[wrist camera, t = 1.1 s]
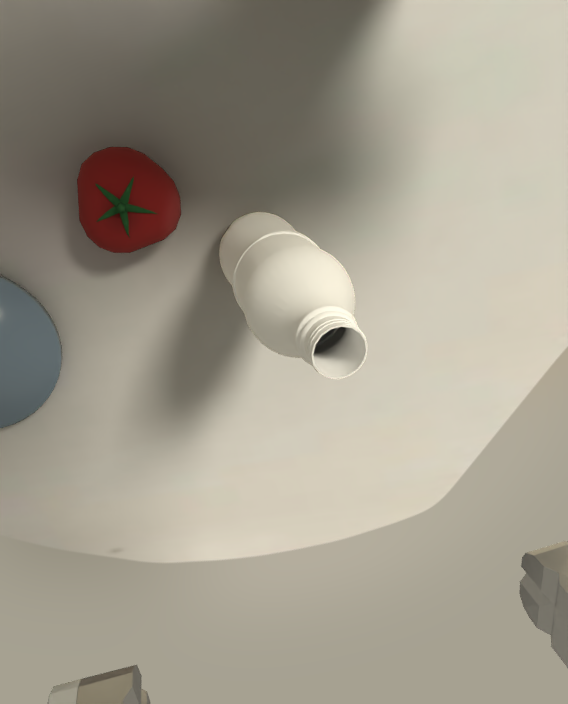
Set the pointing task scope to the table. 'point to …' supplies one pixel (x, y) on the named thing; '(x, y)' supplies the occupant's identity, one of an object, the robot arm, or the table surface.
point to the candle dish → (25, 353)
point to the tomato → (126, 200)
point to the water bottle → (293, 294)
